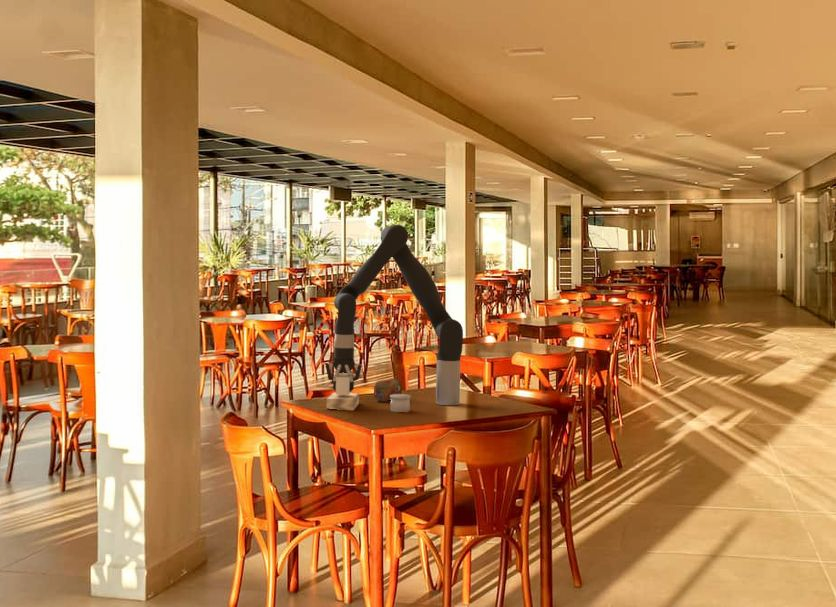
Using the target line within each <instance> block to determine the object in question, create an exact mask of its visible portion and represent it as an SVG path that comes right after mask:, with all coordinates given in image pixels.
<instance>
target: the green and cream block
mask: <svg viewBox="0 0 836 607" xmlns="http://www.w3.org/2000/svg"><path fill="white" fill-rule="evenodd" d="M335 377H336V391H335V393H336V394H338V395H349V394H350V393H352V392H350V376H348V374H347V373H339V375H336V376H335Z"/></svg>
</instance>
